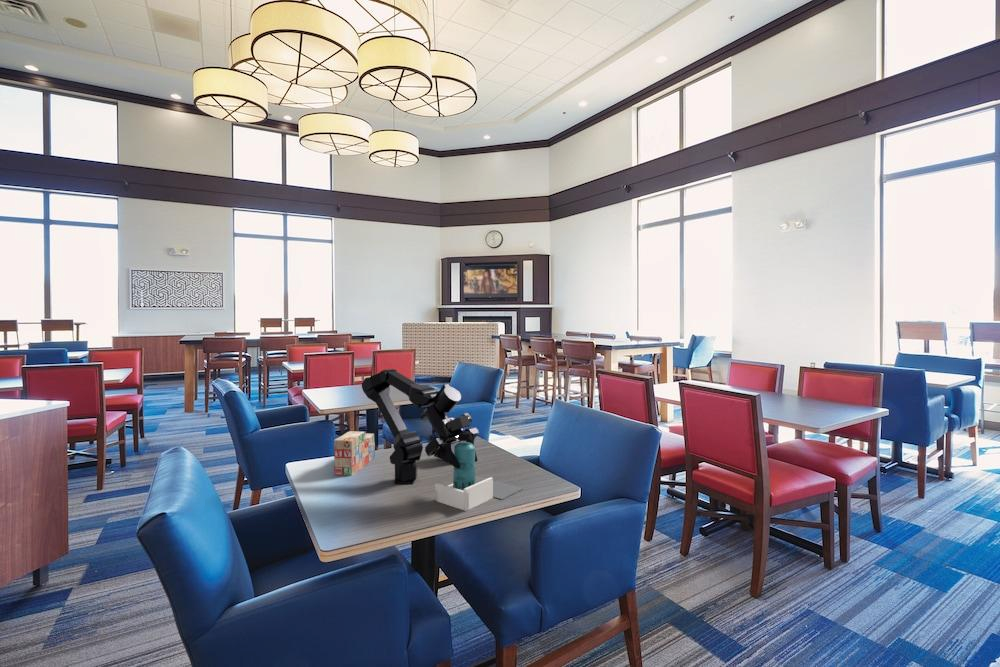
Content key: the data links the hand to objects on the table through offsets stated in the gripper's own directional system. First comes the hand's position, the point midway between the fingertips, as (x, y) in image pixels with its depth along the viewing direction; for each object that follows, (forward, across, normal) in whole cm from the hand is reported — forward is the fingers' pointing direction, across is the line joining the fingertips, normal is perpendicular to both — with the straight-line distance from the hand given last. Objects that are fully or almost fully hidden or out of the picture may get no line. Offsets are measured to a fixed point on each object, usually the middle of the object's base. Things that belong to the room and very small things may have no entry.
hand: (468, 464), depth 137 cm
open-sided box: (+6, 0, +8) cm, 11 cm away
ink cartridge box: (-14, +26, +29) cm, 42 cm away
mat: (+7, +12, +8) cm, 16 cm away
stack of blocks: (-30, 0, +45) cm, 54 cm away
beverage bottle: (+7, 0, +9) cm, 11 cm away
